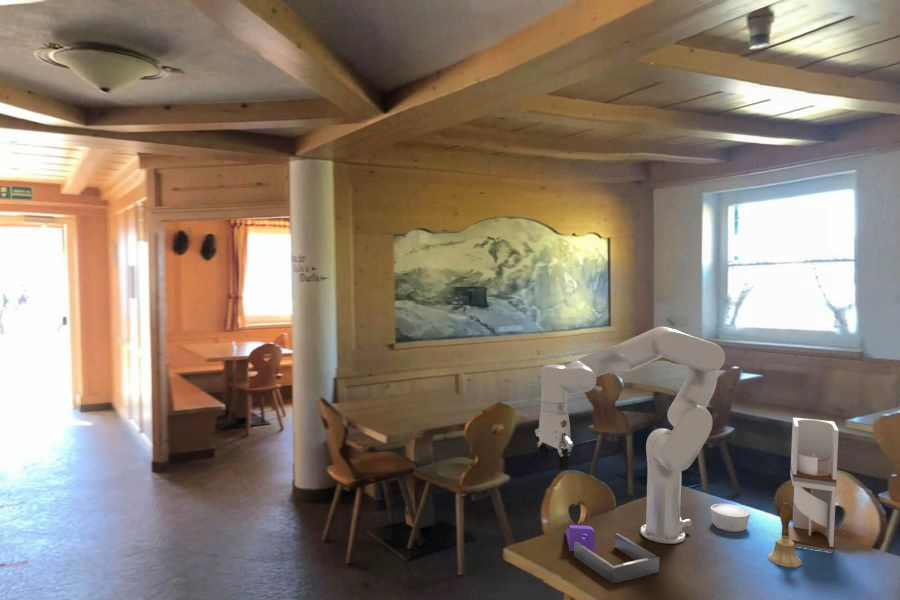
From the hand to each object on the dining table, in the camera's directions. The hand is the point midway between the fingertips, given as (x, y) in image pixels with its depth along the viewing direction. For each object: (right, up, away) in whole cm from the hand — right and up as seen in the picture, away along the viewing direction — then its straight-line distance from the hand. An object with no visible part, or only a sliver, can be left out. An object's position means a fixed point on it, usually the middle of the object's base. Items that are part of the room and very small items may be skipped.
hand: (552, 464), depth 190 cm
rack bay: (+14, -22, -17) cm, 31 cm away
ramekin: (+56, -22, +9) cm, 60 cm away
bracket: (+7, -22, -4) cm, 23 cm away
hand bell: (+61, -23, -14) cm, 67 cm away
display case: (+74, -22, -2) cm, 78 cm away
